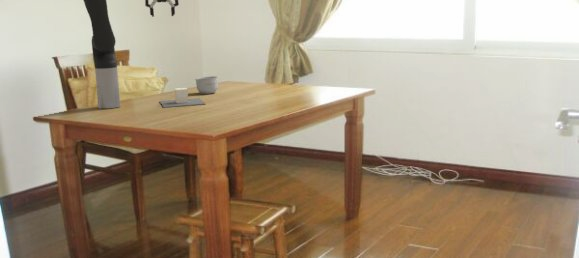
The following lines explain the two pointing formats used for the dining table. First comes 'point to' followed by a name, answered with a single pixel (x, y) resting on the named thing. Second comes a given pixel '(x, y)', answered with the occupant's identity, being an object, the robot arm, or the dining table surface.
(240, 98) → the dining table surface
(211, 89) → the teacup
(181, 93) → the cream block
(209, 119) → the dining table surface
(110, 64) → the robot arm
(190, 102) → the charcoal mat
